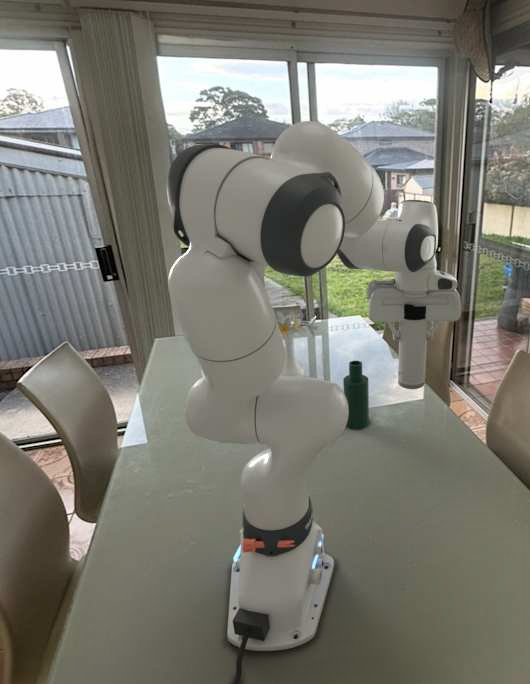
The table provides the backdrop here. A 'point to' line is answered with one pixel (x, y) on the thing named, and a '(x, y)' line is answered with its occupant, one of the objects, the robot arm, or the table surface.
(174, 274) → the robot arm
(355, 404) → the green bottle
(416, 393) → the table surface
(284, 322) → the flower vase
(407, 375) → the travel mug
